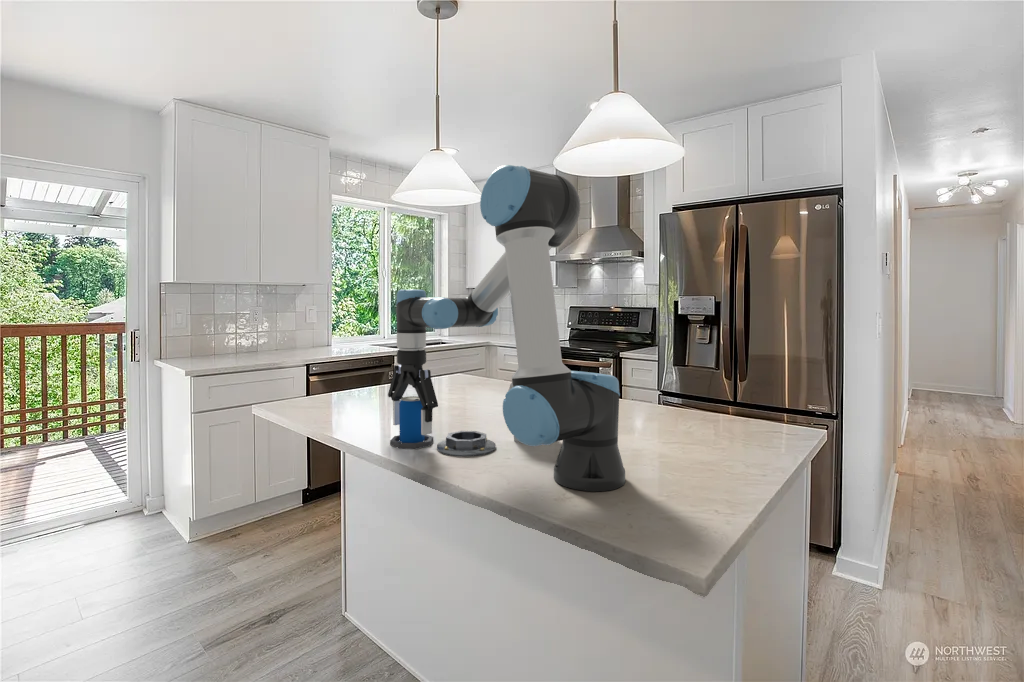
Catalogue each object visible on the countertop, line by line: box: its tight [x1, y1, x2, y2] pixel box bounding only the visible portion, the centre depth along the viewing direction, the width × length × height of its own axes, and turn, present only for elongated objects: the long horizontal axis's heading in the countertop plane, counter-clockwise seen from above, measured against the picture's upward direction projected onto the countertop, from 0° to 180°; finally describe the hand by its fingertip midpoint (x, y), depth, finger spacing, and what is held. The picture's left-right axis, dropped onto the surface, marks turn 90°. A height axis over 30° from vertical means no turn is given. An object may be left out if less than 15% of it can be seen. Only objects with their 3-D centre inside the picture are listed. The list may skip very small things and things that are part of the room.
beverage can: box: [398, 395, 425, 443], centre depth 141 cm, size 6×6×12 cm
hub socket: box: [436, 430, 497, 458], centre depth 137 cm, size 15×15×3 cm
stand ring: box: [389, 434, 434, 450], centre depth 141 cm, size 10×10×1 cm
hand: (412, 429), depth 141 cm, fingers open, 13 cm apart
